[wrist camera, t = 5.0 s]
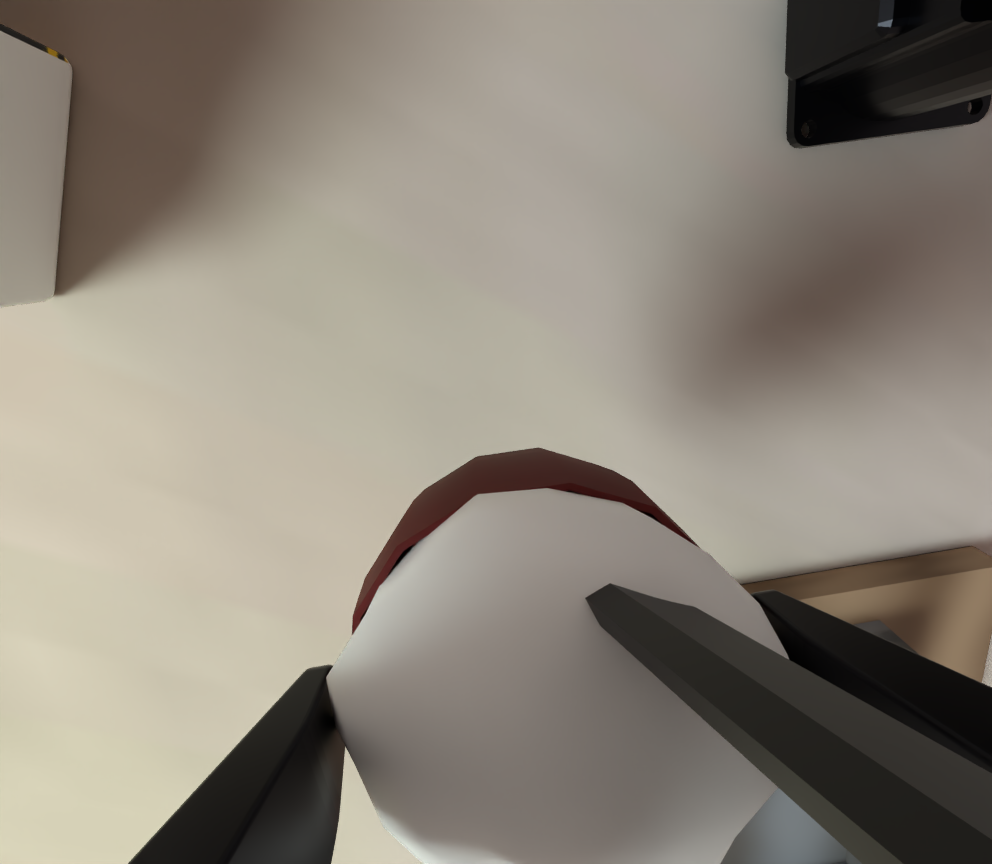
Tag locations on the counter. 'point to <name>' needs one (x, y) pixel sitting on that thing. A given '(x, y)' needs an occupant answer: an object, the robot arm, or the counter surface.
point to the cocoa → (608, 692)
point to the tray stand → (901, 620)
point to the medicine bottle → (31, 165)
